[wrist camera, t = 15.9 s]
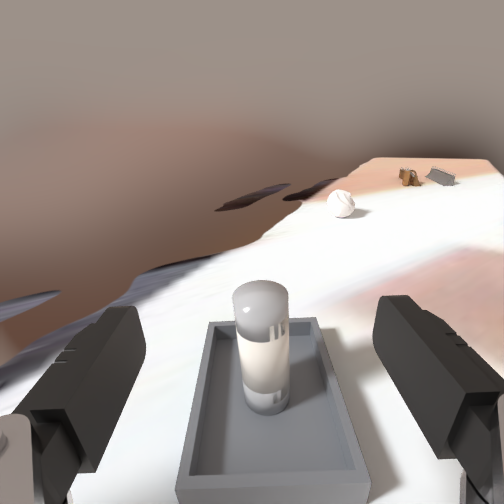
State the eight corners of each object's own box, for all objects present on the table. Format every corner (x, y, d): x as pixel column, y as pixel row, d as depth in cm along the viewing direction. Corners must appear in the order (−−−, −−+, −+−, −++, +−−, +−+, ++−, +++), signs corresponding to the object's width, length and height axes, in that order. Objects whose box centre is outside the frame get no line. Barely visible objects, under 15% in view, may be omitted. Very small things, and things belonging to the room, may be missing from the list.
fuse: (243, 416, 26) (230, 313, 21) (245, 375, 30) (234, 281, 25) (292, 414, 25) (291, 310, 20) (287, 373, 30) (285, 278, 25)
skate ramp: (473, 190, 99) (479, 169, 96) (371, 191, 105) (373, 171, 102) (438, 175, 125) (442, 158, 122) (358, 177, 131) (359, 160, 128)
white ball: (352, 222, 74) (355, 194, 70) (323, 220, 76) (325, 192, 73) (354, 213, 80) (357, 187, 77) (328, 211, 83) (330, 186, 80)
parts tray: (181, 511, 20) (174, 489, 19) (211, 340, 36) (209, 322, 35) (366, 504, 20) (371, 482, 19) (314, 335, 36) (315, 317, 35)
